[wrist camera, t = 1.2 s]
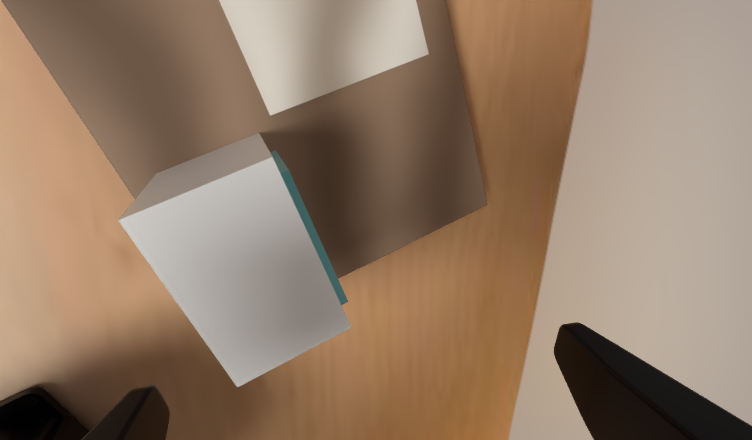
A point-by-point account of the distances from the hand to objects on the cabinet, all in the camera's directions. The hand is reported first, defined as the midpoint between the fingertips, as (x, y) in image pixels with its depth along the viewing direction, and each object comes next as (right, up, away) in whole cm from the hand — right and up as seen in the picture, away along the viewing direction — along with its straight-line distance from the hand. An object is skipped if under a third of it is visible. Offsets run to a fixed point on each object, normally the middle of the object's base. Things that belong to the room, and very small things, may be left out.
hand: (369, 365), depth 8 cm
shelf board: (-4, +9, +10) cm, 14 cm away
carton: (-6, +3, +9) cm, 11 cm away
